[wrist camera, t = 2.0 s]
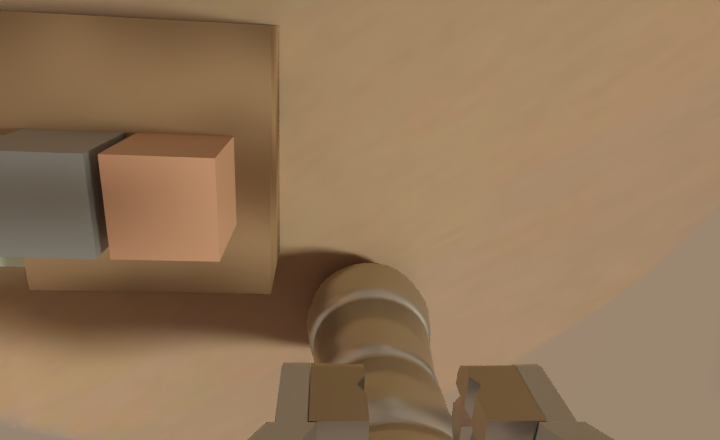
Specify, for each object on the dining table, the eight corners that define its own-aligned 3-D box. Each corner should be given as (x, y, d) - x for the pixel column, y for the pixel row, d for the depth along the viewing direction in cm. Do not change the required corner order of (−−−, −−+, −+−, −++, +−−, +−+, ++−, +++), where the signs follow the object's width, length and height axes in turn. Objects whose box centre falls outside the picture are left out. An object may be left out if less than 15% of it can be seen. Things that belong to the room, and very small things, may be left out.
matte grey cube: (24, 128, 21) (-40, 149, 18) (124, 132, 22) (82, 153, 18) (39, 219, 23) (-17, 256, 19) (133, 221, 23) (96, 259, 19)
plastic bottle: (408, 352, 32) (522, 798, 14) (299, 339, 32) (262, 794, 13) (432, 258, 30) (605, 634, 12) (316, 242, 29) (300, 616, 11)
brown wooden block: (43, 12, 25) (-24, 9, 20) (278, 25, 25) (268, 25, 21) (77, 247, 29) (29, 290, 24) (279, 251, 29) (270, 293, 25)
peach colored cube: (136, 132, 22) (97, 153, 18) (233, 136, 22) (215, 158, 18) (145, 222, 23) (110, 259, 19) (236, 224, 23) (219, 261, 20)
